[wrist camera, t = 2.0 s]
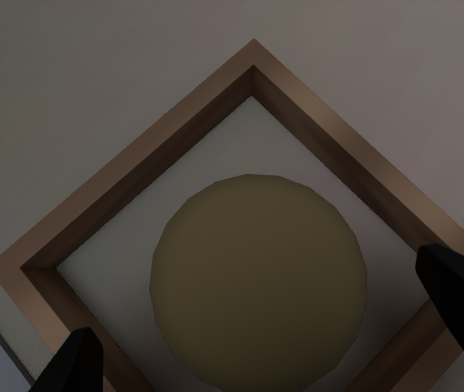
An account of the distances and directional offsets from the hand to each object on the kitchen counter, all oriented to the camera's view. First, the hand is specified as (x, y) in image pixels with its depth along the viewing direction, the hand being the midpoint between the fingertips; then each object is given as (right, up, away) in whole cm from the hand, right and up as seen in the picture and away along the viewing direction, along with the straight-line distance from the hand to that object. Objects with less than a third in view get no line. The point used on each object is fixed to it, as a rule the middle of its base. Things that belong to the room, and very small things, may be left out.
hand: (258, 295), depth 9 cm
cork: (0, -1, +9) cm, 9 cm away
